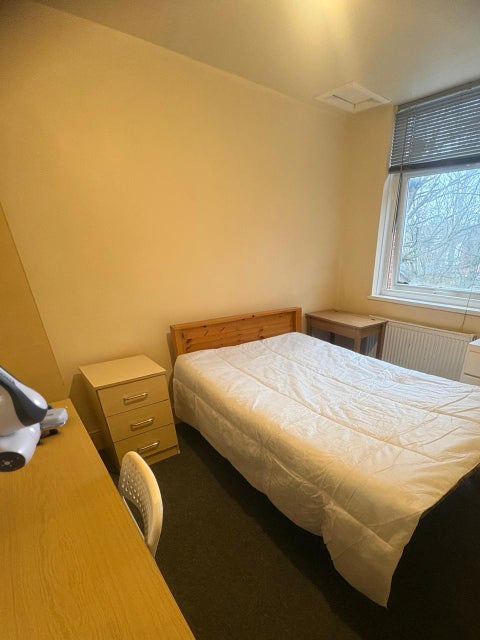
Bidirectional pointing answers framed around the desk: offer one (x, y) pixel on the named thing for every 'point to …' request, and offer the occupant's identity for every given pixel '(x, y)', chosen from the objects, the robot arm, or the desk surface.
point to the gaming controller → (51, 431)
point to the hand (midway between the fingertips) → (31, 410)
